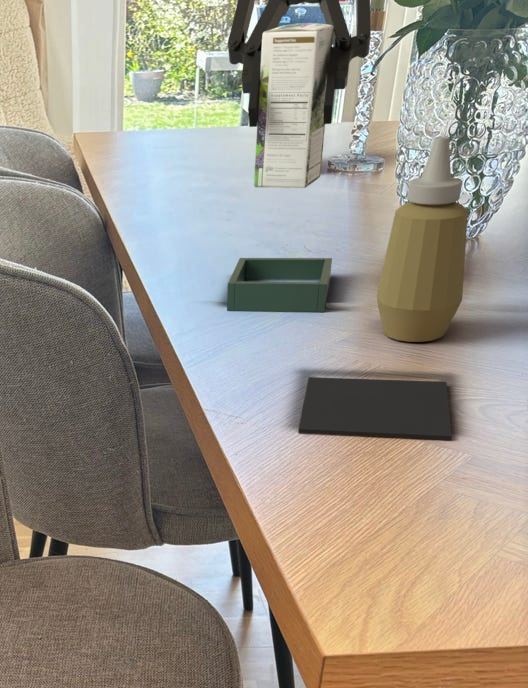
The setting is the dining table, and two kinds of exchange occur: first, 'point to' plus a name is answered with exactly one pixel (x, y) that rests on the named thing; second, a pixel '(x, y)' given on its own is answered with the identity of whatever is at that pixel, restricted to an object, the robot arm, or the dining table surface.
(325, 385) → the mat
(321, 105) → the syrup box
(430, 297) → the squeeze bottle
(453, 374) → the dining table surface
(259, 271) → the tray
